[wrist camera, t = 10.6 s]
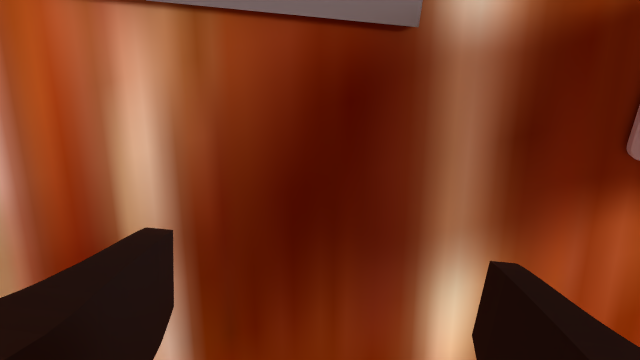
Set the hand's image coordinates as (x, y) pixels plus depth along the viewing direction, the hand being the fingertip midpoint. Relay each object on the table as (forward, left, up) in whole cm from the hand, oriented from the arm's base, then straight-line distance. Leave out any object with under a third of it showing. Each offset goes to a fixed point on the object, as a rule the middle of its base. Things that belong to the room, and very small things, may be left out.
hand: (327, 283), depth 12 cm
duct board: (+4, -14, -9) cm, 17 cm away
